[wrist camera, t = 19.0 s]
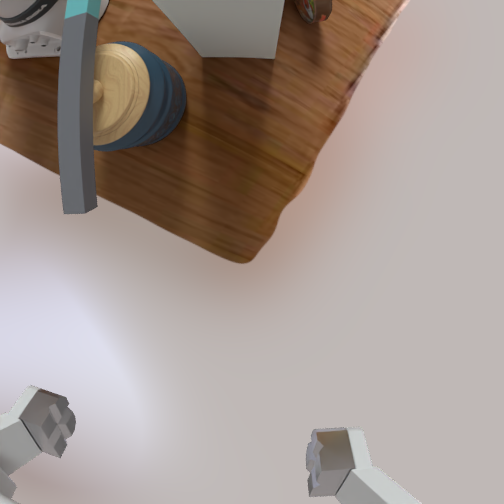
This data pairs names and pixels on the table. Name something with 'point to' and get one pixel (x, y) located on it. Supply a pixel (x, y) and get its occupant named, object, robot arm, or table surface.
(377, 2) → the table surface
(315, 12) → the tin
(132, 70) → the canister
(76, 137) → the teal-tipped grey bar
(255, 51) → the pedestal
